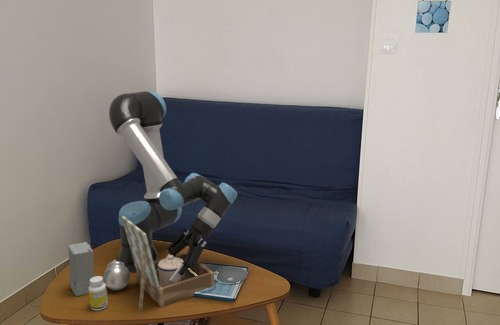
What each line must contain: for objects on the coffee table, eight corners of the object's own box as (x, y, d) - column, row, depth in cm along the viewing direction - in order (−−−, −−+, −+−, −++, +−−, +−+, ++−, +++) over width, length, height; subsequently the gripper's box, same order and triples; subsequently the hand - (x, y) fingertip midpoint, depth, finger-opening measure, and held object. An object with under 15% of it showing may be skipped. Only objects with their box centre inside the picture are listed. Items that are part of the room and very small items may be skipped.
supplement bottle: (92, 302, 151) (89, 275, 149) (109, 301, 152) (107, 274, 149) (88, 311, 146) (85, 283, 144) (106, 310, 147) (103, 282, 144)
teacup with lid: (178, 295, 155) (177, 263, 152) (154, 291, 158) (152, 260, 155) (192, 278, 166) (191, 248, 163) (169, 275, 169) (168, 245, 166)
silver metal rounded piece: (134, 281, 165) (132, 255, 162) (127, 295, 156) (125, 267, 153) (109, 281, 165) (106, 255, 162) (100, 295, 156) (98, 268, 153)
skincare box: (70, 287, 161) (65, 245, 157) (90, 281, 165) (86, 240, 161) (76, 297, 154) (71, 254, 150) (97, 291, 158) (93, 248, 154)
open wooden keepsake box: (119, 289, 161) (113, 217, 154) (187, 268, 175) (184, 202, 169) (141, 315, 145) (135, 237, 138) (214, 290, 159) (212, 218, 153)
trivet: (207, 274, 169) (207, 272, 169) (235, 265, 176) (235, 263, 175) (225, 288, 159) (225, 285, 159) (253, 278, 166) (253, 275, 166)
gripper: (228, 237, 157) (188, 294, 152) (197, 219, 174) (160, 269, 169) (214, 226, 153) (173, 284, 148) (184, 208, 170) (146, 260, 165)
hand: (166, 276), depth 158 cm, fingers closed on teacup with lid, 9 cm apart
